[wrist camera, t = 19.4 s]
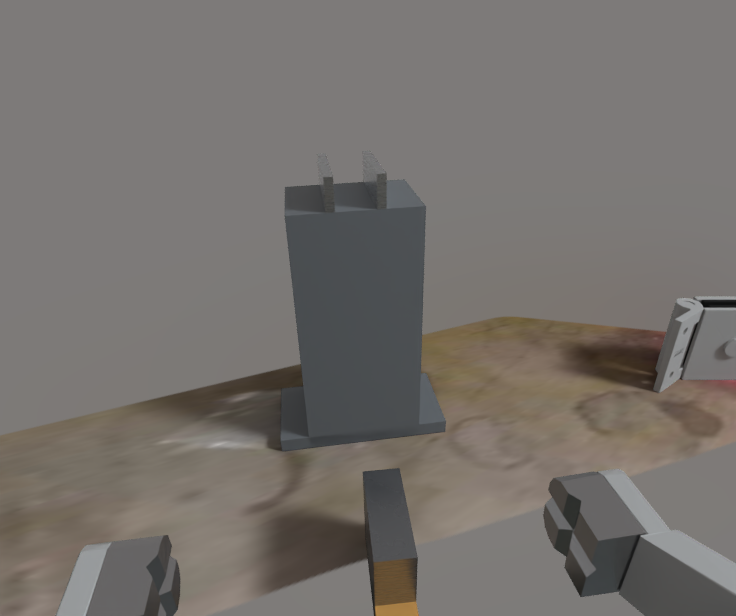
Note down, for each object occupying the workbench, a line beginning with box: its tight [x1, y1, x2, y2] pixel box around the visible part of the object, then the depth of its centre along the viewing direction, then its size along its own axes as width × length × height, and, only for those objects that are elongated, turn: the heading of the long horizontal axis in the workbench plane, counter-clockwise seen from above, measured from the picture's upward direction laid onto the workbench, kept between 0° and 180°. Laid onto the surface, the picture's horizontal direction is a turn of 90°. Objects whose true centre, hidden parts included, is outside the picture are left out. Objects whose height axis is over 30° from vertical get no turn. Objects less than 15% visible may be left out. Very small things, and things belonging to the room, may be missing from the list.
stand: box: [281, 151, 446, 451], centre depth 52 cm, size 18×9×29 cm, turn 98°
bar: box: [363, 468, 419, 616], centre depth 35 cm, size 3×18×8 cm, turn 6°
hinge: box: [653, 297, 736, 393], centre depth 62 cm, size 14×5×10 cm, turn 100°
